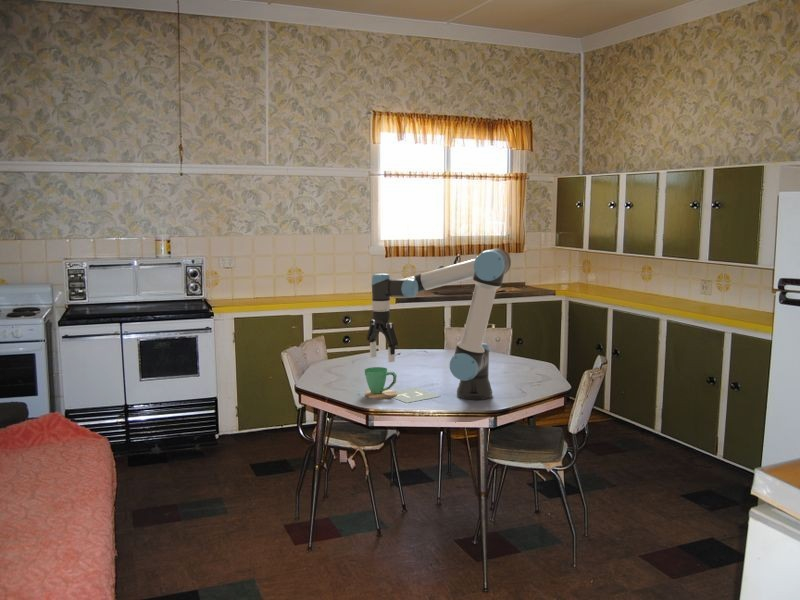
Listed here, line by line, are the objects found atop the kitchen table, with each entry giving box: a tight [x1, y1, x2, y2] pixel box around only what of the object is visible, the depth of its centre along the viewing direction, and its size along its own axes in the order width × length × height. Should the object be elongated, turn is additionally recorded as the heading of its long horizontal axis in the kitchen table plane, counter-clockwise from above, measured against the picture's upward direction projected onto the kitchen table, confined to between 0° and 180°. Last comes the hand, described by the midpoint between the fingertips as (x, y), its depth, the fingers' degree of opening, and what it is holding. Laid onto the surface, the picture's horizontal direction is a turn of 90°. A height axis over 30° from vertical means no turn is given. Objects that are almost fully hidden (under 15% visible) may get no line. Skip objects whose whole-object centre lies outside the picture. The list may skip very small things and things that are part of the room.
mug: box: [364, 366, 397, 394], centre depth 316 cm, size 15×10×10 cm
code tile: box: [392, 387, 441, 404], centre depth 315 cm, size 18×18×1 cm
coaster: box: [364, 389, 398, 400], centre depth 316 cm, size 14×14×1 cm
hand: (382, 359), depth 314 cm, fingers open, 13 cm apart
